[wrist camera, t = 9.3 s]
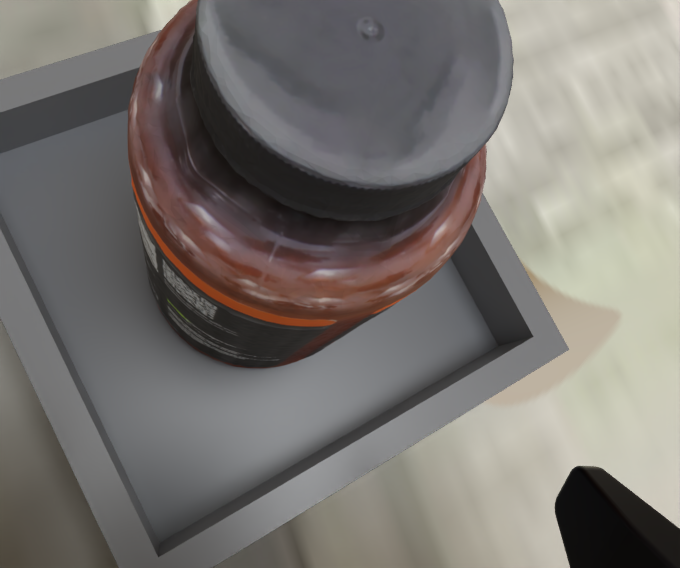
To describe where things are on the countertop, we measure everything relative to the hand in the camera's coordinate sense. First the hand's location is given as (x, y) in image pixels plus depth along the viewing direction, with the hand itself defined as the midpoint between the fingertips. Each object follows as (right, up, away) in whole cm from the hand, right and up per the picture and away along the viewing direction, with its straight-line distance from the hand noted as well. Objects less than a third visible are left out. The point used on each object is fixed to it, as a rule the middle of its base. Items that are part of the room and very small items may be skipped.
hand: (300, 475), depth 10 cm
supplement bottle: (-2, +3, +9) cm, 10 cm away
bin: (-2, +3, +10) cm, 10 cm away
